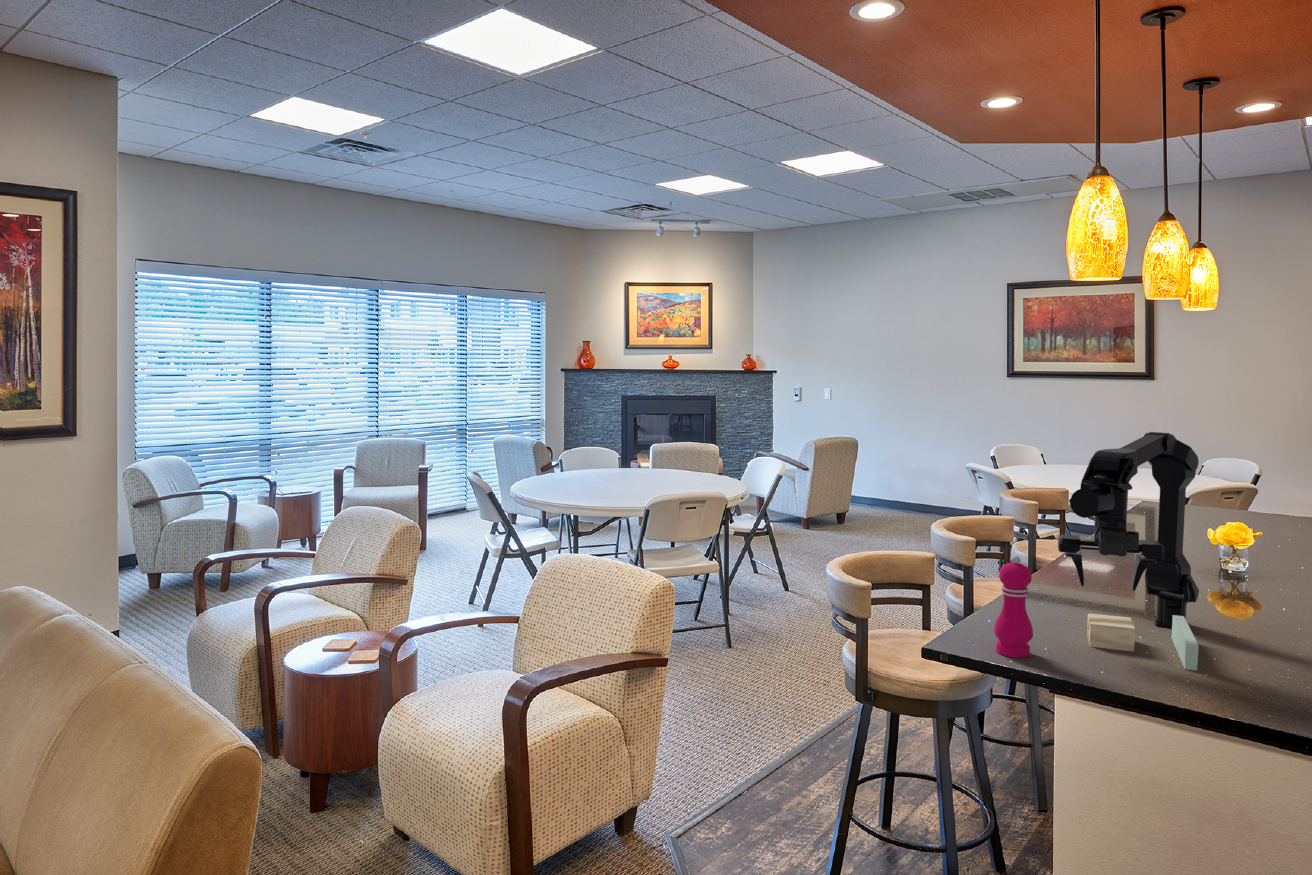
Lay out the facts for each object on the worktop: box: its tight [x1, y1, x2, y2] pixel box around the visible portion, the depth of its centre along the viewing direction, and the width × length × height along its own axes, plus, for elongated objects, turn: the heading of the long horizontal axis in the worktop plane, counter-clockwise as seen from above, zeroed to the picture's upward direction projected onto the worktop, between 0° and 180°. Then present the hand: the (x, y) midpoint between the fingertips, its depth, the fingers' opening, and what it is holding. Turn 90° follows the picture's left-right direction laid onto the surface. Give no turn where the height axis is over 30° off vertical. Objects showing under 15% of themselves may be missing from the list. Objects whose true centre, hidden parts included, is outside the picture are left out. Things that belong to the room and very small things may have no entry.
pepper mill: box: [993, 555, 1034, 659], centre depth 166 cm, size 7×7×20 cm
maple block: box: [1086, 613, 1136, 652], centre depth 172 cm, size 8×8×5 cm
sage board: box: [1171, 615, 1199, 672], centre depth 166 cm, size 20×2×5 cm, turn 154°
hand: (1107, 588), depth 169 cm, fingers open, 9 cm apart
